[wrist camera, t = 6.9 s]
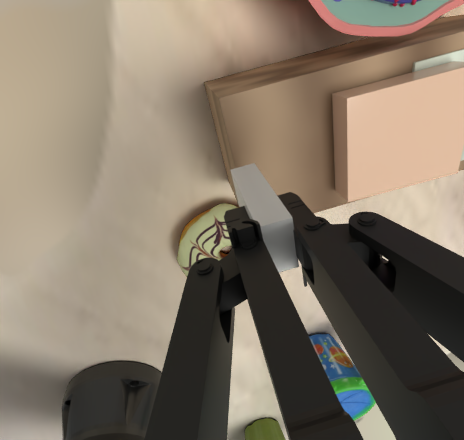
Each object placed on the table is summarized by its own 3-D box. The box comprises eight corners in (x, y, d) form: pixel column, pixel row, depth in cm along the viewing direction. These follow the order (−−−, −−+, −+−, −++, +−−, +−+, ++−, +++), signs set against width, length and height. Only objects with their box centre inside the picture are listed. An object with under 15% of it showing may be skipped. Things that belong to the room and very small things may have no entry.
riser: (229, 182, 31) (250, 232, 22) (203, 82, 26) (219, 98, 17) (429, 125, 32) (525, 153, 23) (444, 17, 27) (576, 1, 18)
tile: (347, 202, 20) (457, 172, 20) (347, 98, 17) (481, 62, 17) (335, 190, 22) (436, 163, 22) (331, 93, 18) (453, 61, 18)
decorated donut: (209, 180, 31) (214, 197, 27) (290, 223, 36) (303, 241, 32) (161, 258, 35) (160, 281, 31) (240, 287, 39) (247, 310, 36)
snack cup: (299, 379, 54) (324, 442, 45) (260, 363, 49) (278, 431, 40) (365, 328, 49) (406, 388, 41) (328, 306, 44) (366, 368, 36)
